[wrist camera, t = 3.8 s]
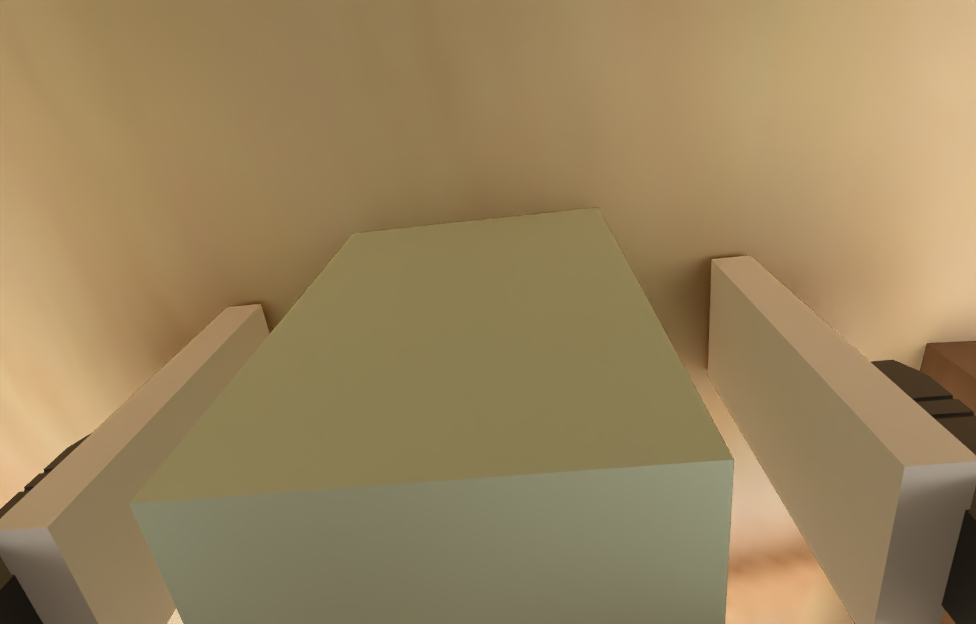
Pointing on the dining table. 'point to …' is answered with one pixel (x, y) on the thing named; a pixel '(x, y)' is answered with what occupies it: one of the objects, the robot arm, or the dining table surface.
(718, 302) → the robot arm
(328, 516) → the sage block
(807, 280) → the dining table surface
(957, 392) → the walnut block
